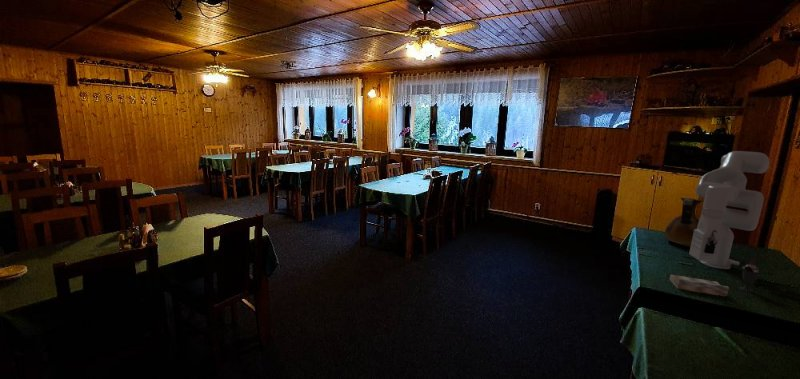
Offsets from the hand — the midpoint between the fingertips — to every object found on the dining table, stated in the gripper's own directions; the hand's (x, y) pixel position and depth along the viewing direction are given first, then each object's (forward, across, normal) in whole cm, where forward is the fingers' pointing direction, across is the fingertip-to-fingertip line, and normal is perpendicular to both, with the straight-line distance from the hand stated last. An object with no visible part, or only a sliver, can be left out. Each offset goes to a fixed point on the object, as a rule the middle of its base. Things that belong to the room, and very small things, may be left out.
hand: (704, 249), depth 156 cm
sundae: (+19, -6, +21) cm, 29 cm away
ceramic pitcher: (+19, -67, +17) cm, 72 cm away
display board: (+18, +1, 0) cm, 19 cm away
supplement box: (+4, 0, 0) cm, 4 cm away
